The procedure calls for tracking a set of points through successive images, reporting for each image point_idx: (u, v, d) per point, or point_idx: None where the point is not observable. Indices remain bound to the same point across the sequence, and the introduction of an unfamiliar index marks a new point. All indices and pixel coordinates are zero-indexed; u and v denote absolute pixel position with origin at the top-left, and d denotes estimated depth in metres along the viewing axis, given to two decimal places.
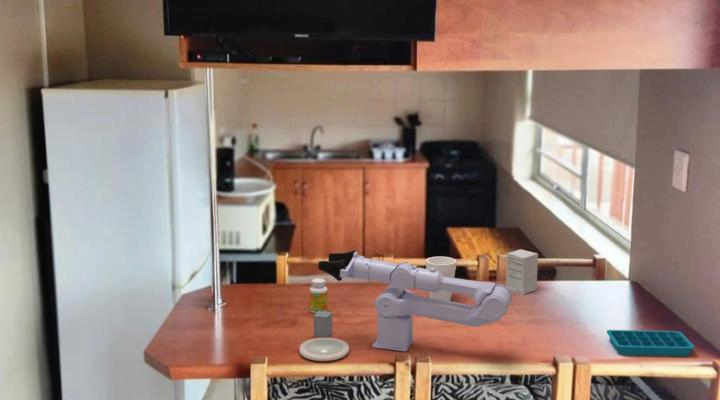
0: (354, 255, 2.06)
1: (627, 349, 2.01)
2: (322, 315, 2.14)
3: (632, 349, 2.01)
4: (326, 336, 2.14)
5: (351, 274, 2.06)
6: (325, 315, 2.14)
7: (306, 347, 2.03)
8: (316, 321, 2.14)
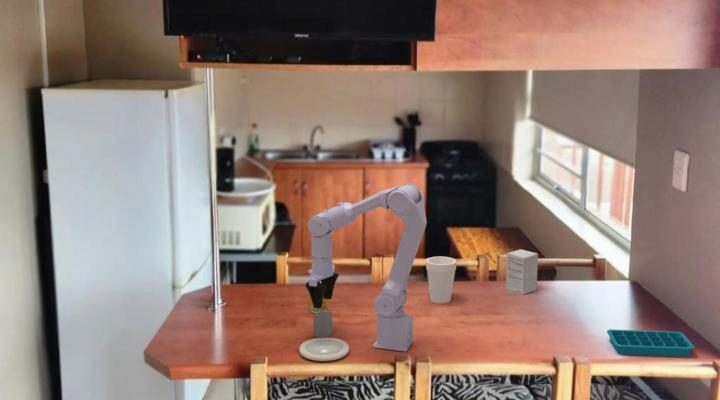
0: (309, 272, 2.13)
1: (626, 348, 2.02)
2: (322, 315, 2.14)
3: (631, 349, 2.02)
4: (326, 336, 2.14)
5: (323, 275, 2.10)
6: (325, 315, 2.14)
7: (306, 347, 2.03)
8: (316, 321, 2.14)
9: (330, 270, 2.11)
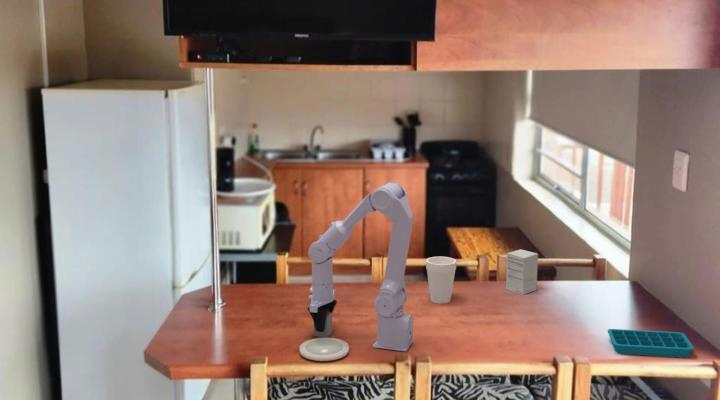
0: (309, 298, 2.14)
1: (624, 348, 2.02)
2: None
3: (630, 348, 2.02)
4: (326, 336, 2.14)
5: (323, 301, 2.11)
6: None
7: (306, 347, 2.03)
8: None
9: (330, 296, 2.12)
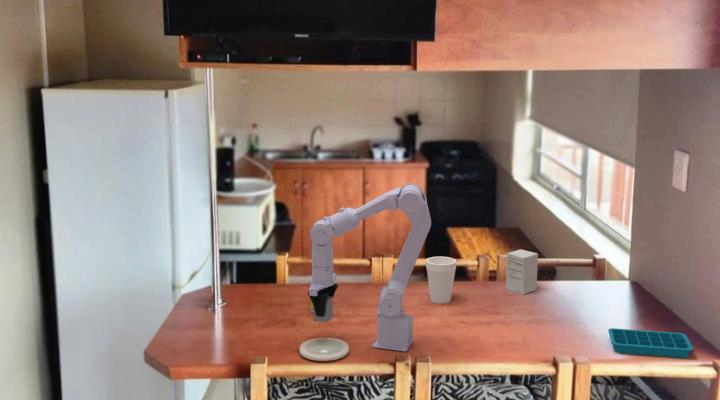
0: (309, 281, 2.07)
1: (623, 347, 2.03)
2: None
3: (628, 348, 2.02)
4: (326, 321, 2.07)
5: (323, 284, 2.04)
6: None
7: (306, 347, 2.03)
8: None
9: (331, 279, 2.05)
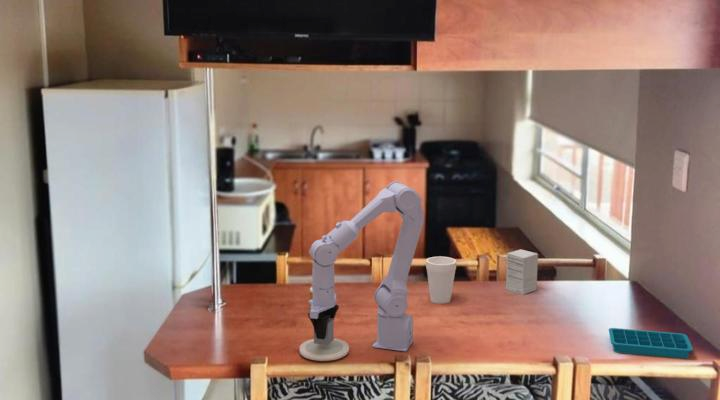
0: (309, 303, 2.01)
1: (622, 347, 2.03)
2: None
3: (627, 347, 2.02)
4: (327, 343, 2.01)
5: (324, 306, 1.98)
6: None
7: (306, 347, 2.03)
8: None
9: (332, 301, 1.99)
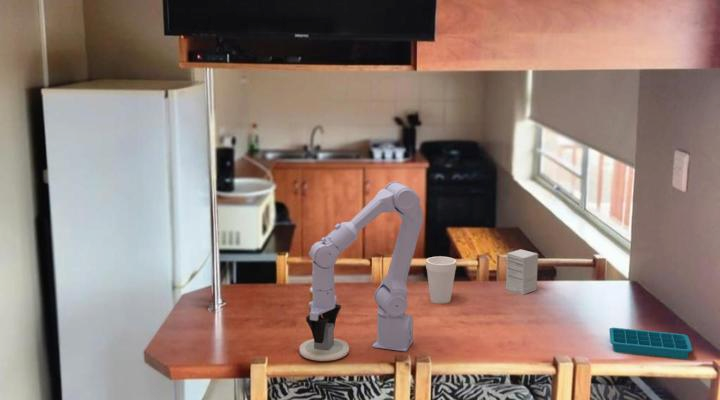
0: (309, 304, 2.01)
1: (621, 346, 2.03)
2: None
3: (627, 347, 2.03)
4: (327, 349, 2.01)
5: (324, 308, 1.98)
6: (326, 326, 2.01)
7: (306, 347, 2.03)
8: None
9: (332, 303, 1.99)
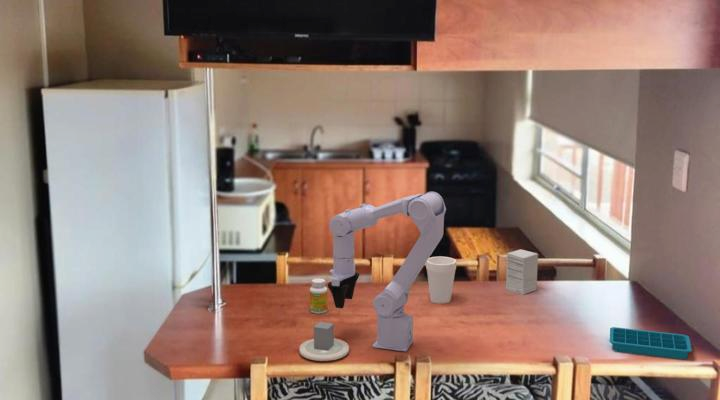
0: (330, 272, 2.12)
1: (621, 346, 2.03)
2: (323, 326, 2.01)
3: (626, 346, 2.03)
4: (327, 349, 2.01)
5: (345, 275, 2.09)
6: (326, 326, 2.01)
7: (306, 347, 2.03)
8: (316, 333, 2.01)
9: (352, 270, 2.10)
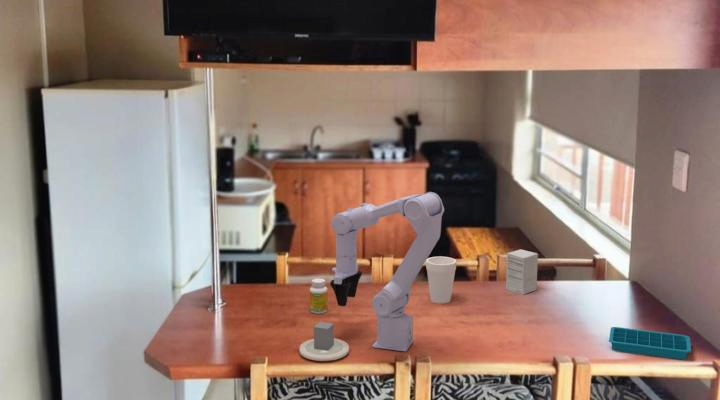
0: (333, 270, 2.14)
1: (620, 345, 2.04)
2: (323, 326, 2.01)
3: (625, 346, 2.03)
4: (327, 349, 2.01)
5: (347, 273, 2.10)
6: (326, 326, 2.01)
7: (306, 347, 2.03)
8: (316, 333, 2.01)
9: (354, 268, 2.12)
